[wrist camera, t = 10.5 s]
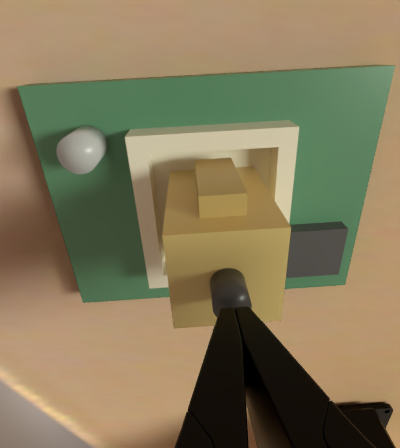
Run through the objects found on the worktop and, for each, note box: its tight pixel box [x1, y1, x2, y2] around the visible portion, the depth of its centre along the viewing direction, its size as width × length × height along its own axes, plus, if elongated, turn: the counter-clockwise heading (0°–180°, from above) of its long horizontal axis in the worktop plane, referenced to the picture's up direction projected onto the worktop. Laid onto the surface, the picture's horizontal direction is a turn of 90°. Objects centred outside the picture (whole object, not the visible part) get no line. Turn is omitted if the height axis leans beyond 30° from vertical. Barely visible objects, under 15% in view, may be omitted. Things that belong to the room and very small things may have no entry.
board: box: [17, 65, 395, 303], centre depth 16 cm, size 12×16×3 cm
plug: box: [162, 158, 291, 328], centre depth 12 cm, size 5×4×7 cm
